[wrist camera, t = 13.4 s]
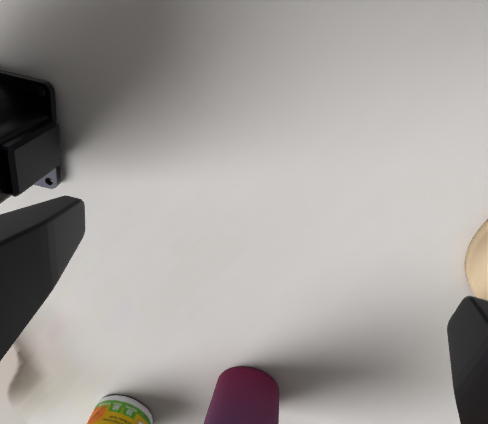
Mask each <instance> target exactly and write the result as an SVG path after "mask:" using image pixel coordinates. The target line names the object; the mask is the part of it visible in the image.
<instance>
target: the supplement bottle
mask: <svg viewBox="0 0 488 424" xmlns="http://www.w3.org/2000/svg"><path fill="white" fill-rule="evenodd" d="M152 423H153V419H152V415H151V413H150V412H149V410H148V409H147V408H146V407H145V406H144V405H142V404H141V403H140V402H138V401H136V400H134V399H132V398H129V397H126V396H120V395H112V396H107V397H104V398H103V399H101V400H100V401H99V402H98V404H97V405H96V407H95V409H94V411H93V413H92V415H91V417H90V419H89V421H88V423H87V424H152Z"/></svg>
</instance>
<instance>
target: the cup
mask: <svg viewBox="0 0 488 424" xmlns="http://www.w3.org/2000/svg"><path fill="white" fill-rule="evenodd" d="M278 419H279V388H278V385H277V383H276V382H275V380H274V379H273V378H272V377H271V376H269V375H268V374H266V373H265V372H263V371H261V370H258V369H255V368H250V367H235V368H231V369H228V370H226V371H224V372H223V373H222V374H221V375H220V376H219V378H218V381H217V384H216V387H215V390H214V393H213V396H212V399H211V403H210V406H209V409H208V412H207V415H206V418H205V421H204V424H278Z"/></svg>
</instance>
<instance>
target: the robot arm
mask: <svg viewBox="0 0 488 424" xmlns="http://www.w3.org/2000/svg"><path fill="white" fill-rule="evenodd" d="M41 87H42V88H44V89H45V91H46V94H44V93H43V92H42V90H41ZM60 164H61V155H60V140H59V126H58V124H57V122H56V107H55V92H54V88H53V87H52V85H51V84H50V83H49V82H47V81H44V80H40V79H36V78H31V77H27V76H23V75H19V74H14V73H10V72H6V71H2V70H0V203H2V202H3V201H4V200H6V199H7V198H9V197H10V196H15V197H16V196H18V195H20V194H21V193H23V192H24V191H25V190H27V189H28V188H29V187H31V186H32V185H37V186H41V187H45V188H49V189H53V188H55V187H57V186H58V185H59V184H60V166H59V165H60ZM49 178H50V179H52V181H53V182H51V181H50V180H49ZM84 233H85V206H84V202H83V201H82V200H81V199H78V198H74V197H70V196H62V197H58V198H55V199H52V200H48V201H45V202H41V203H38V204H35V205H31V206H28V207H24V208H21V209H18V210H14V211H11V212H7V213H4V214H1V215H0V361H1V359H2V358H3V357H4V355H5V354H6V353H7V351H8V350H9V348H10V347H11V346H12V344H13V343H14V342H15V340H16V339H17V338H18V336H19V335H20V334H21V332H22V331H23V330H24V328H25V327H26V326H27V324H28V323H29V321H30V320H31V319H32V317H33V316H34V315H35V313H36V312H37V311H38V309H39V308H40V307H41V305H42V304H43V303H44V301H45V300H46V298H47V297H48V296H49V294H50V293H51V291H52V290H53V288H54V287H55V285H56V284H57V282H58V280H59V279H60V277H61V275H62V273H63V272H64V270H65V268H66V266H67V265H68V263H69V261H70V259H71V258H72V256H73V254H74V252H75V251H76V249H77V247H78V245H79V244H80V242H81V240H82V238H83V236H84ZM447 333H448V342H449V352H450V361H451V371H452V380H453V388H454V394H455V399H456V404H457V409H458V413H459V418H460V422H461V424H488V301H487V300H485V299H481V298H477V297H473V296H467V297H465V298H464V299H463V300H462V301H461V303H460V304H459V306H458V308H457V309H456V311H455V312H454V314H453V315H452V317H451V318H450V320H449V322H448V326H447Z"/></svg>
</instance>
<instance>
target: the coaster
mask: <svg viewBox="0 0 488 424" xmlns="http://www.w3.org/2000/svg"><path fill="white" fill-rule="evenodd" d="M465 273H466V277H467V280H468V282H469V285H470V287H471V289H472V291H473V293H474V295H475V296H476V297H477V298H481V299H485V300H487V301H488V220H487V221H486V222H485V223H484V224H483V225H482V226H481V227H480V229H479V230H478V231H477V233H476V234H475V236H474V237H473V239H472V241H471V243H470V245H469V247H468V250H467V253H466V258H465Z"/></svg>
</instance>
